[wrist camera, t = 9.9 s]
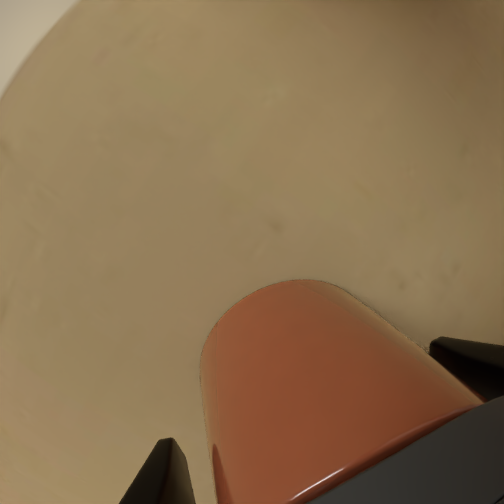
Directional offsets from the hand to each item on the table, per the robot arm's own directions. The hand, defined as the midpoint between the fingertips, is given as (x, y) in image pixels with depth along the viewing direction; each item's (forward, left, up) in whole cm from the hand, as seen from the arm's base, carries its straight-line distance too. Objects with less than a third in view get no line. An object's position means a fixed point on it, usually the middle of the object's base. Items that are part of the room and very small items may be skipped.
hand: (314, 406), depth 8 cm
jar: (0, 0, -2) cm, 2 cm away
